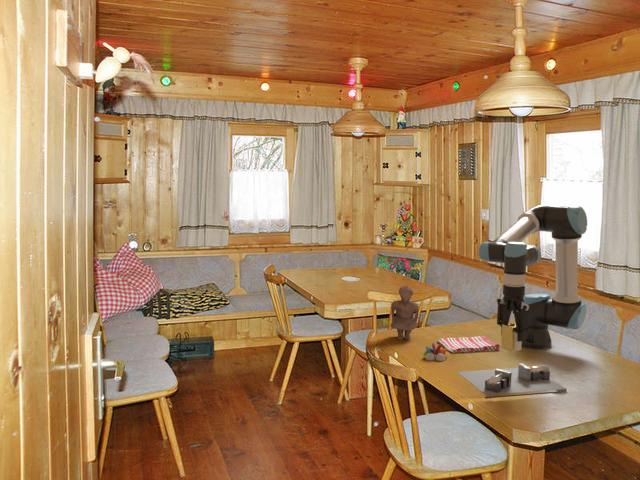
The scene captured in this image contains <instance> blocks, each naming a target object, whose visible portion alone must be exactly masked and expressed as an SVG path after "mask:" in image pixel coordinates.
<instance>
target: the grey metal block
mask: <svg viewBox="0 0 640 480" xmlns="http://www.w3.org/2000/svg"><path fill="white" fill-rule="evenodd" d="M517 368H518V377H520V378H521V379H523V380H524V381H526V382H530V380H532V381H539V378H541V379H542V380H550V379H551V377H550V376H551V371H550V367H549V366H548V365H538V366H537V365H536V366H528V365H526V364H525V363H518V367H517Z"/></svg>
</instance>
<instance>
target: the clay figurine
mask: <svg viewBox="0 0 640 480" xmlns="http://www.w3.org/2000/svg"><path fill="white" fill-rule="evenodd" d="M398 294H399V296H400V300H398V299H397V300H394V301H392V303H391V307H390V308H391V319H392V322H391V324H390V327H391V328H392V329H395V330H396V331H397V339H398V340H402V339H405V340H410V339H411V336H410V335H411V333H412V330H415V329H418V326H419V323H418V318H419V312H420V311H419V308H420V307H419V304H418V303H417V302H415V301H412V300H411V298H412V296H413V294H414V290H413V289H412V287H410V286H408V285H404V286H401V287H399V290H398ZM395 314H396V316H395ZM414 314H415V315H414Z"/></svg>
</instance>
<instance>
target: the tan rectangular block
mask: <svg viewBox="0 0 640 480" xmlns="http://www.w3.org/2000/svg"><path fill="white" fill-rule="evenodd" d="M515 331H517V330H516V323H515V322H509V323H508V324H502V336H501V339H500V342H501V344H500V349H502V350H505V351H507V352H511V353H514V352H518V351H521V350H522V348H523V347H522V341H521V349H519V350H514V338H515Z"/></svg>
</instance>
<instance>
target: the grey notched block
mask: <svg viewBox="0 0 640 480" xmlns="http://www.w3.org/2000/svg"><path fill="white" fill-rule="evenodd" d="M494 369H495V376H492V377H491V378H490V379H487V380H485V389H486V390H489V391H493V392H496V393H498V392H500V391H501V389H505V388H506V386H508V387H510V386H511V375H512V372H509V371H505V370H501V369H502V368H494Z"/></svg>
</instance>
